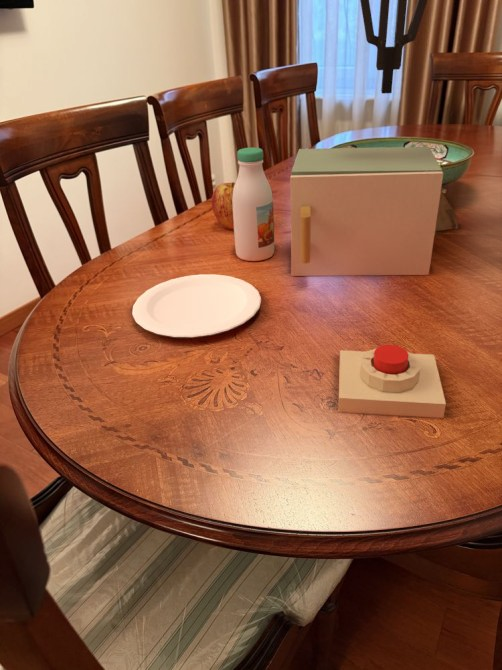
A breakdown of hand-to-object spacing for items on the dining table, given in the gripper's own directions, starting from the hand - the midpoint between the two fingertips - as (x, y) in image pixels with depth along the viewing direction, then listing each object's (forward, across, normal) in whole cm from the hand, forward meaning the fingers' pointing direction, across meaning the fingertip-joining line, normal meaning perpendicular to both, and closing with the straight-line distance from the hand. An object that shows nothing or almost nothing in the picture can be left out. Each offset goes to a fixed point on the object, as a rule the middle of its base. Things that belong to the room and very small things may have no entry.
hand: (386, 92), depth 86 cm
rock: (+29, -12, -10) cm, 33 cm away
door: (+28, +3, +13) cm, 31 cm away
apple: (+29, +30, -13) cm, 43 cm away
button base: (+28, 0, +43) cm, 52 cm away
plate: (+29, +29, +25) cm, 48 cm away
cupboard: (+28, +3, +1) cm, 29 cm away
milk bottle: (+29, +23, +2) cm, 37 cm away
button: (+25, 0, +43) cm, 50 cm away
